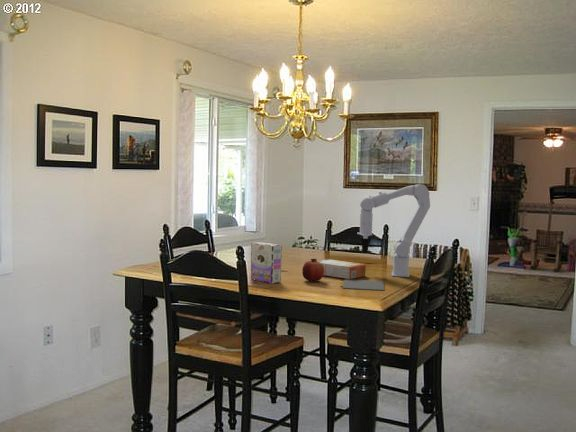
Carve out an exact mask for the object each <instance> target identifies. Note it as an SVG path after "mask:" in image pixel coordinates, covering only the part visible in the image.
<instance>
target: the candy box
mask: <svg viewBox="0 0 576 432" xmlns="http://www.w3.org/2000/svg"><path fill="white" fill-rule="evenodd" d="M250 246H251V250H250V251H251V252H250V253H251V254H250V255H251V256H250V257H251V258H250V261H251V262H250V280H251V279H255V280H254V281H256V280H258V281H257V282H260V281H262V282H261V283H265V282H266V283H267V284H270V285H272V284H281V283H282V253H283V251H282V250H283V248H282V247H283V245H282V244H276V243H269V242H264V241H263V242H262V241H258V242H257V241H256V242H251V245H250Z"/></svg>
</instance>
